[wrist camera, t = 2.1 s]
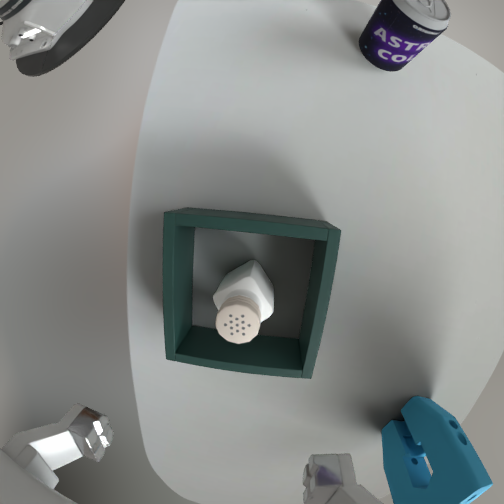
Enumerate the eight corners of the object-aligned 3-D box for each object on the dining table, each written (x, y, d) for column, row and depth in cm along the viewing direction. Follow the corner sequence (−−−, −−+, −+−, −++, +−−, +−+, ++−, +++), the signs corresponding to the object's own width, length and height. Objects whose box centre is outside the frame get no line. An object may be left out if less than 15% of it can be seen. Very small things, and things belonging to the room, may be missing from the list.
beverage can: (350, 57, 22) (386, -5, 10) (364, 26, 21) (397, -34, 9) (396, 83, 22) (452, 37, 10) (407, 50, 21) (456, 2, 9)
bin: (183, 331, 30) (165, 359, 24) (186, 207, 27) (163, 212, 21) (305, 346, 29) (311, 378, 23) (327, 221, 26) (341, 230, 20)
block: (392, 441, 32) (422, 532, 13) (372, 438, 32) (398, 539, 13) (440, 391, 30) (495, 482, 10) (421, 385, 30) (478, 488, 10)
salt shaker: (276, 288, 28) (276, 334, 19) (243, 306, 29) (229, 356, 20) (256, 255, 27) (246, 288, 18) (222, 275, 28) (198, 314, 19)
